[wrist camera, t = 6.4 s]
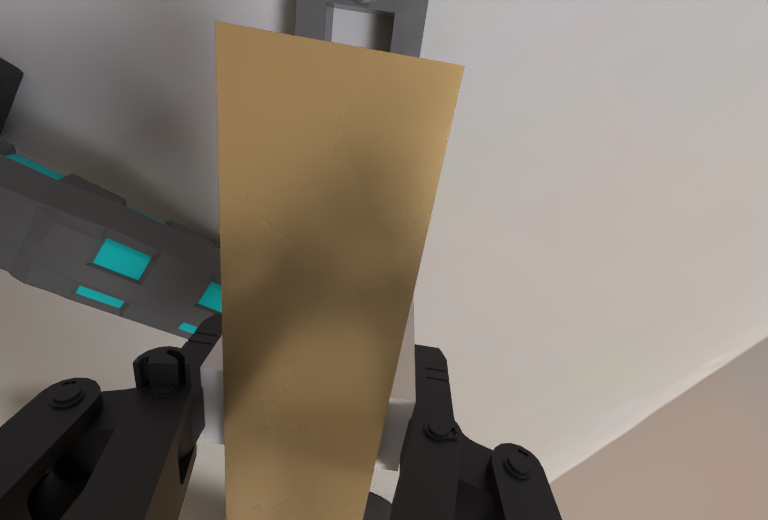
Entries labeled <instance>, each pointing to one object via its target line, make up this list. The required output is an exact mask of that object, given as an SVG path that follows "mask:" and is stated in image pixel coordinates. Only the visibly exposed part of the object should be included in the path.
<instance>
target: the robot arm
mask: <svg viewBox="0 0 768 520" xmlns="http://www.w3.org/2000/svg"><path fill="white" fill-rule="evenodd" d="M133 369H134V375H135V382H136V388H132V389H125V390H114V391H103V392H101V389H100V386H99V385H98V384H97V382H96V381H94V380H91V379H89V378H72V379H67V380H63V381H60V382H58V383H55V384H53V385H51V386H49V387H48V388H46V389H45V390H43V391H42V392H41V393H39V394H38V395H37V396H36V397H35V398H34V399H32V400H31V401H30V402H29V403H28V404H27V405H25V406H24V407H23V408H22V409H21V410H20V411H19V412H17V413H16V414H15V415H14V416H13V417H12V418H10V419H9V420H8V421H7V422H6V423H5V424H3V425H2V426H1V427H0V520H178V517H179V514H180V510H181V507H182V503H183V500H184V497H185V493H186V490H187V486H188V483H189V479H190V476H191V472H192V469H193V465H194V462H195V458H196V452H197V445H196V442H197V440H198V438H199V436H200V434H201V432H202V431H203V429H204V441H205V442H212V443H218V444H225V440H224V395H223V349H222V314H217V313H215V314H214V315H212V316H210V317H209V318H207V319H205V320H204V321H202V322H201V324H200V325H199V326H198V328H197V329H196V330H195V332H194V333H193V334H192V335H191V337H190V338H189V339H188V342H186V343H185V344H184V346H183V347H182V348H177V347H171V346H168V347H158V348H155V349H152V350H148V351H147V352H145V353H143V354H141V355H140V356H138V357H137V359H136V360H135V361H134V362H133ZM399 463H400V476H399V479H398V483H397V487H396V491H395V494H394V498H393V502H392V505H391V504H390V503H388V502H387V501H385V500H384V499H382V498H380V497H378V496H376V495H374V494H371V493H369V494H368V498H367V503H366V507H365V512H364V516H363V520H562V518H561V516H560V513H559V510H558V507H557V505H556V502H555V499H554V497H553V494H552V491H551V488H550V486H549V483H548V480H547V477H546V475H545V472H544V469H543V467H542V466H541V464H540V462H539V460H538V459H537V458H536V457H535V456H534V455H533V454H532V453H531V452H530V451H528V450H527V449H525V448H523V447H521V446H519V445H515V444H512V443H505V444H500V445H499V446H497V447H495V449H494V450H491V449H489V448H486V447H484V446H482V445H480V444H477V443H476V442H474V441H472V440H470V439H469V438H468V437H466V436H465V435H464V434H463V433H462V431H461V429H460V427H459V425H458V424H457V422H456V421H455V420H454V415H453V407H452V399H451V391H450V383H449V375H448V368H447V360H446V358H445V356H444V355H443V353H442V352H441V350H440V349H439V348H434V347H428V346H422V345H416V344H414V299H413V298H412V302H411V307H410V311H409V315H408V320H407V324H406V329H405V333H404V338H403V342H402V347H401V351H400V356H399V360H398V364H397V369H396V373H395V378H394V382H393V387H392V391H391V396H390V400H389V405H388V409H387V413H386V418H385V422H384V427H383V431H382V436H381V440H380V445H379V449H378V454H377V458H376V463H375V467H374V468H380V469H387V470H393V471H398V467H399Z"/></svg>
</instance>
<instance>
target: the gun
mask: <svg viewBox="0 0 768 520" xmlns="http://www.w3.org/2000/svg"><path fill="white" fill-rule="evenodd" d="M23 74H24V73H23V72H22V71H21V70H20V69H18V68H17V67H15V66H13V65H11V64H9V63H8V62H6V61H4V60H2V59H0V134H1V131H2V129H3V126H4V124H5V121H6V118H7V116H8V113H9V111H10V108H11V105H12V103H13V100H14V98H15V95H16V92H17V90H18V87H19V84H20V82H21V79H22V77H23ZM0 269H3V270H6V271H8V272H9V273H10V274H11V275H12V276H13V277H14V278H16V279H18V280H19V281H21V282H23V283H25V284H28V285H31V286H34V287H37V288H40V289H43V290H46V291H49V292H52V293H55V294H58V295H60V296H62V297H64V298H67V299H70V300H73V301H76V302H79V303H82V304H85V305H88V306H91V307H94V308H97V309H100V310H103V311H106V312H109V313H112V314H115V315H118V316H121V317H124V318H127V319H130V320H133V321H136V322H138V323H141V324H144V325H147V326H150V327H153V328H156V329H159V330H162V331H165V332H168V333H171V334H174V335H177V336H180V337H183V338H186V339H189V338H190V337H191V335H192V334H193V333H194V332H195V330H196V329H197V328H198V326H199V325H200V324H201V322H202V321H204V320H205V319H207V318H209V317H210V316H212V315H214V314H215V313H217V314H222V304H221V259H220V249H219V248H217V247H216V245H215V243H214V241H213V240H211V239H208V238H206V237H204V236H202V235H200V234H198V233H196V232H194V231H192V230H189V229H187V228H185V227H183V226H181V225H179V224H177V223H175V222H173V221H170V222H167V223H163V222H161V221H159V220H157V219H155V218H153V217H150V216H148V215H146V214H144V213H142V212H140V211H138V210H135V209H133V208H131V207H129V206H127V205H126V201H125V199H124V198H122V197H120V196H118V195H116V194H113V193H111V192H109V191H107V190H105V189H103V188H101V187H99V186H97V185H94V184H92V183H90V182H88V181H86V180H84V179H82V178H80V177H78V176H75V175H73V174H71V175H69V176H66V177H65V176H63V175H60V174H58V173H56V172H54V171H52V170H50V169H48V168H45V167H43V166H41V165H39V164H37V163H35V162H33V161H30V160H28V159H26V158H24V157H22V156H20V155H18V154H16V150H15V146H14V145H12V144H11V143H9V142H8V141H6V140H5V139H3V138H2V137H0Z"/></svg>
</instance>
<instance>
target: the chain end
mask: <svg viewBox="0 0 768 520" xmlns="http://www.w3.org/2000/svg"><path fill="white" fill-rule="evenodd" d="M427 5H428V0H296V17H295V36H300V37H306V38H311V39H317V40H322V41H328V42H331V36H332V22H333V8H340V9H346V10H353V11H359V12H366V13H372V14H379V15H385V16H392V17H394V24H393V32H392V40H391V48H390V53H395V54H401V55H406V56H412V57H417V58H419V56H420V50H421V44H422V37H423V31H424V25H425V18H426V12H427Z"/></svg>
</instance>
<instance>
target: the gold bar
mask: <svg viewBox="0 0 768 520" xmlns="http://www.w3.org/2000/svg"><path fill="white" fill-rule="evenodd" d="M215 34H216V79H217V124H218V169H219V214H220V259H221V304H222V349H223V395H224V440H225V485H226V520H363V516H364V512H365V507H366V503H367V498H368V494H369V489H370V485H371V480H372V476H373V471H374V467H375V463H376V458H377V454H378V449H379V445H380V440H381V436H382V431H383V427H384V422H385V418H386V413H387V409H388V405H389V400H390V396H391V391H392V387H393V382H394V378H395V373H396V369H397V364H398V360H399V356H400V351H401V347H402V342H403V338H404V333H405V329H406V324H407V320H408V315H409V311H410V307H411V302H412V298H413V293H414V289H415V284H416V280H417V275H418V271H419V266H420V262H421V257H422V253H423V249H424V244H425V240H426V235H427V231H428V226H429V222H430V217H431V213H432V208H433V204H434V200H435V195H436V191H437V186H438V182H439V177H440V173H441V168H442V164H443V159H444V155H445V151H446V146H447V142H448V137H449V133H450V128H451V124H452V119H453V115H454V110H455V106H456V102H457V97H458V93H459V88H460V84H461V79H462V75H463V70H464V66H462V65H456V64H451V63H445V62H440V61H434V60H428V59H423V58H417V57H412V56H406V55H401V54H395V53H389V52H384V51H378V50H373V49H367V48H361V47H356V46H350V45H345V44H339V43H334V42H328V41H322V40H317V39H311V38H306V37H300V36H294V35H289V34H283V33H278V32H272V31H267V30H261V29H255V28H250V27H244V26H239V25H233V24H227V23H222V22H216V21H215Z"/></svg>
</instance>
